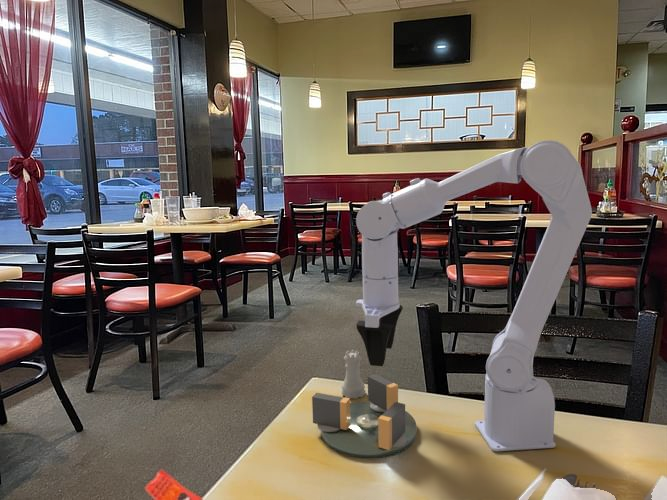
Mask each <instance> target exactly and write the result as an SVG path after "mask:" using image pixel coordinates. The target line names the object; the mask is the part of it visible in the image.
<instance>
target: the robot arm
mask: <svg viewBox="0 0 667 500" xmlns="http://www.w3.org/2000/svg"><path fill="white" fill-rule="evenodd" d="M522 179H523V181H525V183H526V184H528V185H529V186H530V187H531V188H532V190H534V191H535V192H536V193H537V194H539V195H540V197H542V201H543V203H544V204H545V206H546V208H547V210H548V211H549V213H550V215H551V218H550V220H549V222H548V226H547V228H546V230H545V232H544V234H543V237H542V239H541V241H540V242H541V243H540V244H539V246H538V250H537V252H536V255H535V256H534V259H533V262H532V264H531V266H530V269H529V272H528V274H527V276H526V279H525V281H524V284H523V286H522V289H521V291H520V294H519V296H518V298H517V301H516V303H515V306H514V308H513V311H512V313H511V315H510V317H509V319H508V321H507V323H506V326H505V327H504V329H502V331H500V332H499V333H497V335H495V337H494V338H493V340H492V343H491V344H492V345H491V349H490V350H491V351H490V354H489V356H488V358H486V359H487V360H486V364H485V370H486V373H485V378H484V379H485V380H484V381H485V382H484V409H483V410H484V412H483V413H484V414H483V415H484V419H483V420H476V421H474V426H475V427H476V429H477V430H478V431H479V433H480V434H481V436H482V437H483V439H484V440H485V442H486V443H487V445H488V446H489V448H490V449H491V451H493V452H505V451H506V452H507V451H508V452H509V451H519V450H520V451H521V450H536V449H537V450H538V449H539V450H540V449H552V448H556V446H557V445H556V443H555V441H554V435H555V434H554V431H555V413H556V412H555V410H556V409H555V408H556V401H555V395H554V392H553V389H552V387H551V386H550V384H549V382H548V381H547V380H545V379H544V378H537V377H536V376H534V367H533V365H534V357H535V353H536V351H537V348H538V345H539V344H538V343H539V341H540V337H541V334H542V332H543V329H544V328H545V324H546V322H547V320H548V317H549V314H550V313H551V310H552V308H553V306H554V304H555V302H556V299H557V296H558V295H559V292H560V290H561V288H562V285H563V284H564V281H565V279H566V276H567V273H568V271H569V269H570V267H571V264H572V263H573V261H574V260H573V259H574V257H575V255H576V253H577V250H578V248H579V246H580V244H581V241H582V239H583V236H584V234H585V232H586V229H587V228H588V225H589V223H590V221H591V219H592V214H593V209H592V205H591V201H590V197H589V193H588V190H587V189H588V188H587V186H586V182H585V179H584V174H583V169H582V166H581V164H580V163H579V161H578V160H577V158H576V157H575V156H574V154H573V153H572V152H571V150H570V149H569V148H568V147H567V146H566V145H565V144H564V143H562V142H559V141H557V140H552V139H551V140H549V139H547V140H546V139H545V140H541V141H538V142H535V143H534V144H532V145H531V146H529V147H526V146H523V147H521V148H519V147H518V148H515V149H512V150H509V151H506V152H502V153H499V154H496V155H494V156H492V157H490V158H488V159H485V160H483V161H481V162H479V163H477V164H475V165H473V166H471V167H469V168H467V169H465V170H462V171H460V172H458V173H456V174H454V175H452V176H450V177H447V178H445V179H443V180H441V181H439V182H438V181H434V180H432V179H429V178H427V177H426V178H424V179H420V178H419V177H417V178H416V177H415V178H414V179H411V180H409V184H410V185H407V186H406V187H404V188H402V189H399V190H397V191H395V192H393V193H391V192H390V191H387V192H385V193H383V194H382V199H380V200H371V201H368V202H367V203H366V204H364V205H363V206H362V207H361V208H360V209H359V210H358V212H357V215H356V218H355V224H356V227H357V230H358V231H359V233H360V234H361V269H362V299H357V300H356V302H355V306H356V307H359V308H362V310H363V312H364V320H360V319H359V320H358V321H357V322H356V330H357V332H358V333H359V335H360V337H361V339H362V341H363V344H364V348H365V351H366V355H367V359H368V362H369V365H370V366H371V367H372V366H376V367H384V364H385V361H386V355H387V349H388V350H389V349H390V350H391V349H392V347H393V344H394V339H395V334H396V329H397V328H396V327H397V323H398V321H399V318H400V315H401V313H402V311H403V309H404V307H403V305H401V304H400V300H399V248H398V230H400V229H407V228H409V227H411V226H412V227H413V225H417V224H419V223H421V222H424V221H427V220H429V219H431V218H433V217H436V216H438V215H441V214H442V212H443V211H444V208H445V206H446V204H447V202H449V201H451V200H453V199H456V198H459V197H461V196H463V195H466V194H469V193H471V192H474V191H477V190H479V189H482V188H485V187H487V186H490V185H492V184H495V183H508V184H519V183H520V182H521V181H522Z"/></svg>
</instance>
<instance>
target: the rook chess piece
mask: <svg viewBox="0 0 667 500" xmlns="http://www.w3.org/2000/svg"><path fill="white" fill-rule="evenodd" d="M343 360H344V361H345V362H346V363H345V365H344V366H345V368H346V370H345V371H346V372H345V378H344V380H343V383H342V385H341V391H340V392H341V395H342V396H345V398H346V397H347V398H351V399H350V400H354V399H353V398H357V399H360V398H359V397H361V398H363V397H364V395H365V394H366V385H365V383H364V382H363V379H362V378H361V377H362V376H361V372H360V367H361V363H360V361H361V360H362V356H361V355H360V352H359V350H355V351H354V349H352V350H347V351H346V352H345V355H344V357H343Z"/></svg>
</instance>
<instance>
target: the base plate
mask: <svg viewBox="0 0 667 500" xmlns="http://www.w3.org/2000/svg"><path fill="white" fill-rule="evenodd" d="M370 403H371V402H370V401H368V400H367V401H355V402H350V424H351V425H350V426H349V428H348V429H347V430H343V429H340V430H338V431H336V432H324V431H321V430H320V435H321V438H322V441H323V443H324V444H325V445H326V446H327V447H329V448H330V449H331V450H333V451H335V452H336V453H338V454H342V455H344V456H348V457H350V458H351V457H352V458H355V459H356V458H357V459H368V460H370V459H382V458H383V459H384V458H389V457H392V456H394V455H395V456H396V455H398V454H401V453H402V452H404V451H406V450H407V449H409V448H410V447H411V446H412V445H413V443H414V442H415V441H416V438H417V423H416V420H415V418H414V417H413V415H412V414H411V413H409V411H407V410H405V432H404V435H405V436H406V437H407V442H406V444H405V445H403V446H401V447H397V448H391V449H390V450H387V449H383V448H380V447H379V439H378V418H379V417H380V416H381V415H382V414H383V413H385V412H376V411H374V410H372V409H371V408H370Z"/></svg>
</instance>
